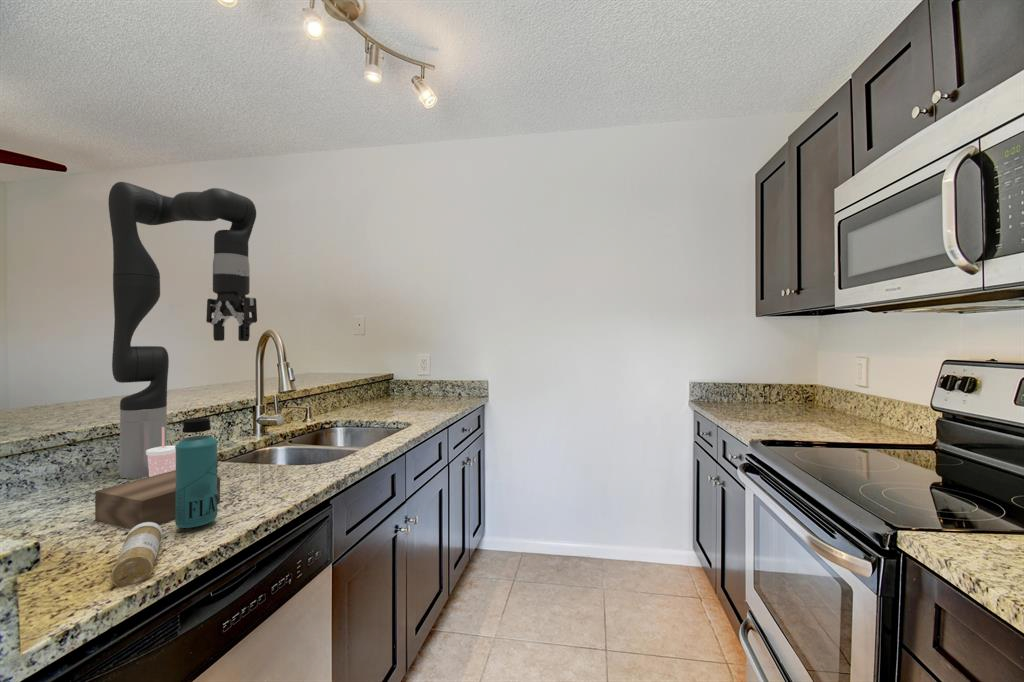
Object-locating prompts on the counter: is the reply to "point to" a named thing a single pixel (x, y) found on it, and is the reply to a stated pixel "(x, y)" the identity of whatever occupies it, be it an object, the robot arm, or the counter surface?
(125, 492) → the walnut block
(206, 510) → the beverage bottle
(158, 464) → the beverage cup
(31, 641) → the counter surface
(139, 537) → the brown spice jar
